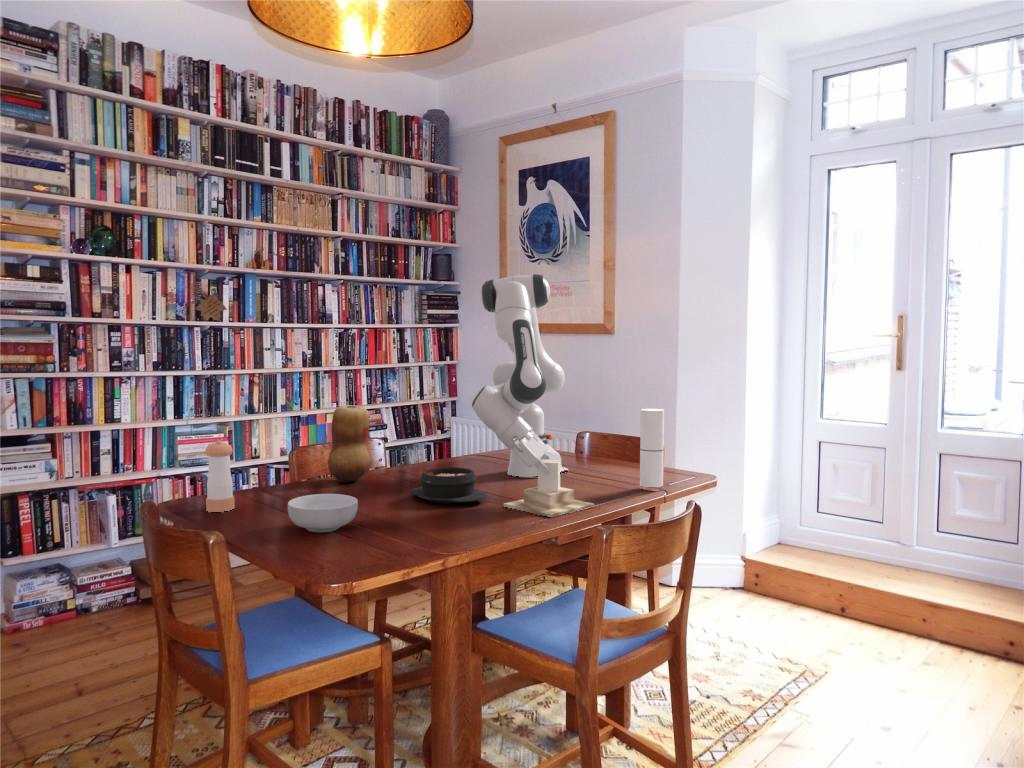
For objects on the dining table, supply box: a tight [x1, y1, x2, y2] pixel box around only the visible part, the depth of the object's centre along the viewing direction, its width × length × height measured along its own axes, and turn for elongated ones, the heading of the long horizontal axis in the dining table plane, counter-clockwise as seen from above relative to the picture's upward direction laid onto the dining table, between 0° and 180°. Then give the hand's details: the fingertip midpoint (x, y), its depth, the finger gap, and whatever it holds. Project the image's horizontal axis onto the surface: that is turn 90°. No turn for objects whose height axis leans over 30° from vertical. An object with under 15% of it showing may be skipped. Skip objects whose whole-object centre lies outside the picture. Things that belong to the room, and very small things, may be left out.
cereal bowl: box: [287, 493, 359, 533], centre depth 185 cm, size 17×17×7 cm
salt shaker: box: [204, 440, 236, 513], centre depth 204 cm, size 7×7×19 cm
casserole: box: [409, 466, 489, 505], centre depth 218 cm, size 25×19×8 cm
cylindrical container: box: [639, 408, 665, 487], centre depth 232 cm, size 7×7×25 cm
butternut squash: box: [327, 404, 371, 483], centre depth 243 cm, size 14×13×25 cm
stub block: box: [502, 486, 595, 518], centre depth 208 cm, size 18×18×8 cm
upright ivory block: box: [537, 459, 561, 492], centre depth 208 cm, size 6×6×8 cm
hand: (551, 470), depth 208 cm, fingers open, 8 cm apart
